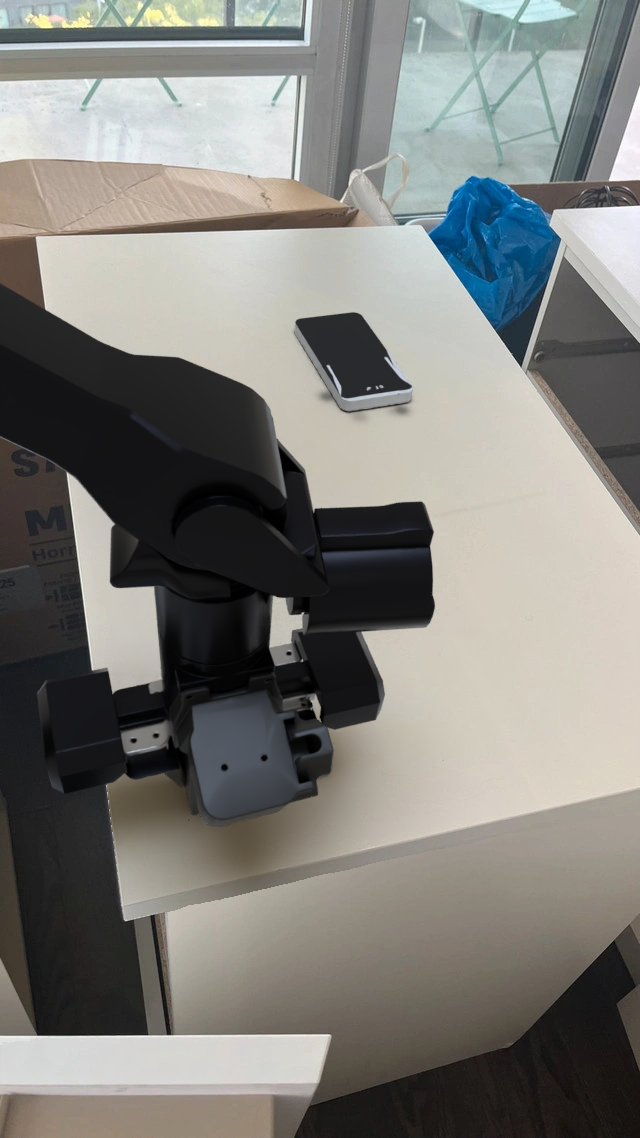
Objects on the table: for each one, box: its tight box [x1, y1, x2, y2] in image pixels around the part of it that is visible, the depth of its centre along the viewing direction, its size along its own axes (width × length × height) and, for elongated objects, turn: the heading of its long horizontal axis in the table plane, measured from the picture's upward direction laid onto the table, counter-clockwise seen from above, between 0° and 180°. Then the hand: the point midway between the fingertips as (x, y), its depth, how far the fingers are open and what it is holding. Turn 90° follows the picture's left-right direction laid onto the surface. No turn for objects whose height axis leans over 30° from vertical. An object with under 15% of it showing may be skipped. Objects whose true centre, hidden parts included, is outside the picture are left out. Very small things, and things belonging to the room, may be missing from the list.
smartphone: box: [294, 311, 414, 412], centre depth 87 cm, size 8×1×15 cm
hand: (215, 772), depth 54 cm, fingers closed on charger, 4 cm apart
